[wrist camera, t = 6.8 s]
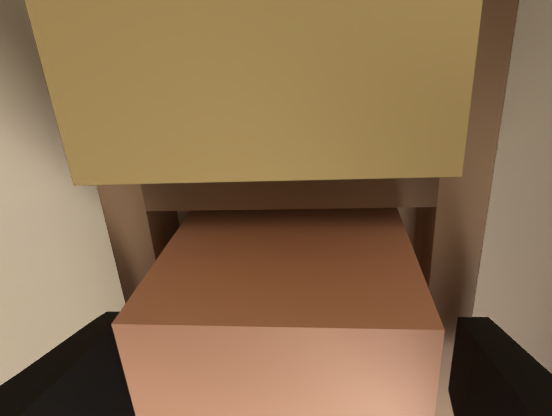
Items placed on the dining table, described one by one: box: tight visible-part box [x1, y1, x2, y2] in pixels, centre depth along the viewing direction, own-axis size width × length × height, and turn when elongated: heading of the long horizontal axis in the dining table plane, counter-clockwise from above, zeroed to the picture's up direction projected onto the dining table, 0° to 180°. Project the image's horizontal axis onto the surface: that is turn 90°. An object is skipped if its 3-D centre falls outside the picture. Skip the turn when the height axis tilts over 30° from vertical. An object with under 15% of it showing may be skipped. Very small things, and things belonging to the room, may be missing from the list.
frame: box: [97, 0, 519, 416], centre depth 11 cm, size 23×8×3 cm, turn 3°
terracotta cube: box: [111, 208, 445, 416], centre depth 10 cm, size 5×5×5 cm
